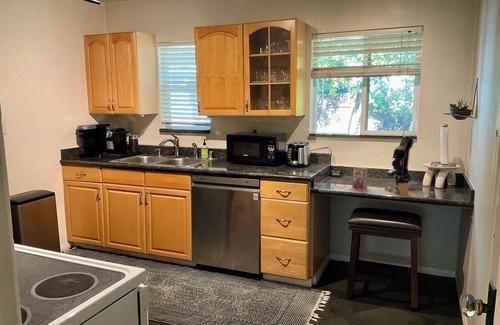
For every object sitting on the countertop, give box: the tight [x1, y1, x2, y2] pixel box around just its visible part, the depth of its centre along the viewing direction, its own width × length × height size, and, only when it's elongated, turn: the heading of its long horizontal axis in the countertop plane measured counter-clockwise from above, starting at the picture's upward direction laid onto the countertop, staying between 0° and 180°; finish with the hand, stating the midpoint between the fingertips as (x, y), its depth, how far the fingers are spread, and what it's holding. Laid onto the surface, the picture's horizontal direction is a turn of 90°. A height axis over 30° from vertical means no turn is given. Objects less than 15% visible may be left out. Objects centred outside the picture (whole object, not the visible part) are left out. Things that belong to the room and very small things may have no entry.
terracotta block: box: [398, 182, 410, 196], centre depth 287 cm, size 5×5×8 cm
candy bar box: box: [352, 166, 369, 190], centre depth 311 cm, size 11×5×16 cm, turn 31°
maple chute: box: [384, 184, 400, 195], centre depth 296 cm, size 16×8×4 cm, turn 14°
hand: (398, 186), depth 293 cm, fingers closed
